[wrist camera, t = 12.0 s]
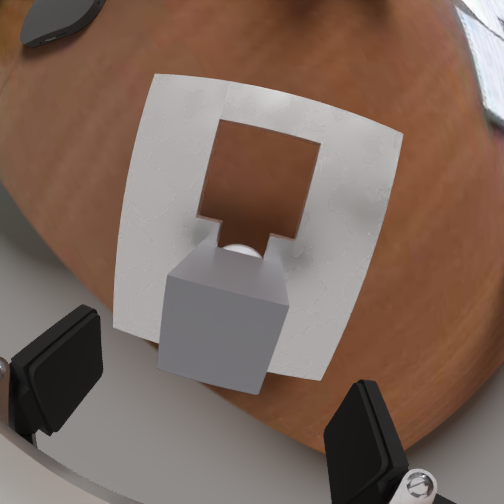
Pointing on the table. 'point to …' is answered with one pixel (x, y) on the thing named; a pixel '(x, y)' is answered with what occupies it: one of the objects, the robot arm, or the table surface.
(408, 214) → the table surface
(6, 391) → the robot arm
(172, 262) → the miniature table
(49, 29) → the media streaming box
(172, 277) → the peg
